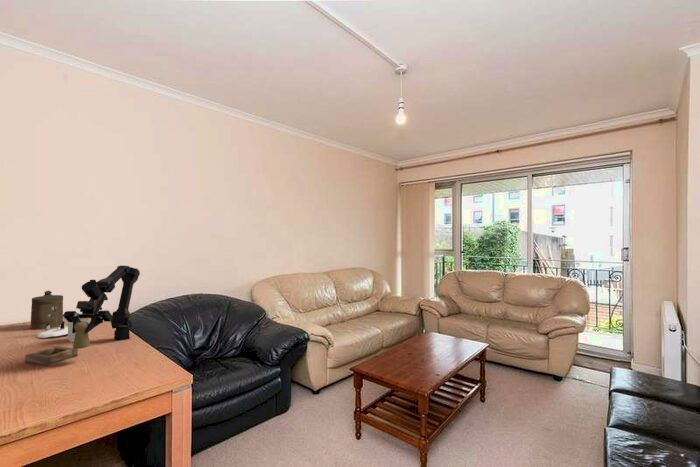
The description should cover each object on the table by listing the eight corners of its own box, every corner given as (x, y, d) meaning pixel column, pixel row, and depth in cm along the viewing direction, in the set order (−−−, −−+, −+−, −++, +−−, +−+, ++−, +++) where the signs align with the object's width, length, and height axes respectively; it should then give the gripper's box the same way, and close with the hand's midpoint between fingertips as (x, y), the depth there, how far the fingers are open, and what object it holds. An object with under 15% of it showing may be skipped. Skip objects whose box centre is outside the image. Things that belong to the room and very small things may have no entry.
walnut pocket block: (57, 353, 161) (57, 346, 161) (77, 356, 158) (77, 348, 158) (24, 363, 149) (25, 355, 149) (46, 366, 145) (46, 358, 145)
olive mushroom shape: (80, 349, 148) (80, 324, 148) (69, 348, 149) (69, 323, 149) (93, 344, 154) (93, 321, 154) (82, 343, 155) (82, 320, 155)
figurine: (87, 329, 199) (85, 302, 199) (53, 339, 181) (51, 309, 181) (63, 330, 204) (61, 303, 204) (27, 339, 186) (25, 310, 187)
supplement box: (71, 342, 177) (71, 318, 178) (67, 339, 182) (67, 316, 182) (88, 339, 183) (88, 316, 183) (84, 336, 188) (84, 314, 188)
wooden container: (59, 321, 219) (60, 288, 219) (65, 325, 209) (65, 290, 210) (28, 326, 207) (29, 290, 207) (32, 330, 198) (33, 293, 198)
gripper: (65, 293, 154) (46, 324, 143) (109, 293, 157) (94, 323, 146) (77, 307, 162) (60, 336, 151) (118, 306, 165) (104, 335, 154)
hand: (79, 332), depth 150 cm, fingers closed on olive mushroom shape, 5 cm apart
